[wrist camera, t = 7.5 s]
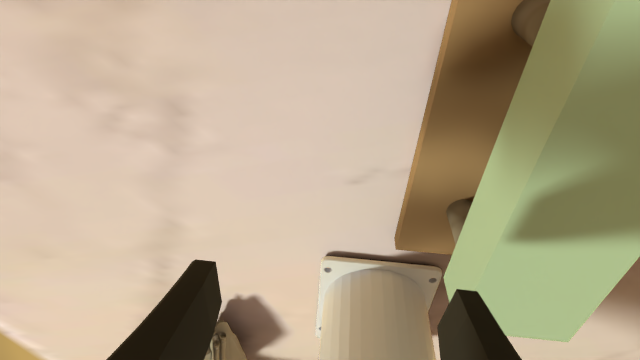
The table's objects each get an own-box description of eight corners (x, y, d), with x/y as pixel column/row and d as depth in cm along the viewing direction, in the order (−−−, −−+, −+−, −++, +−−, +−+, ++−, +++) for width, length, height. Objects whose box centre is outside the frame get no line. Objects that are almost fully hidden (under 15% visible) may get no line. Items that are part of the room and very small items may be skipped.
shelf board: (541, 287, 19) (568, 342, 16) (443, 277, 19) (455, 330, 17) (739, -19, 11) (852, 0, 8) (562, -31, 11) (622, -15, 8)
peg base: (539, 251, 23) (569, 307, 20) (394, 237, 23) (400, 290, 20) (737, -85, 13) (865, -85, 10) (476, -101, 13) (514, -106, 10)
